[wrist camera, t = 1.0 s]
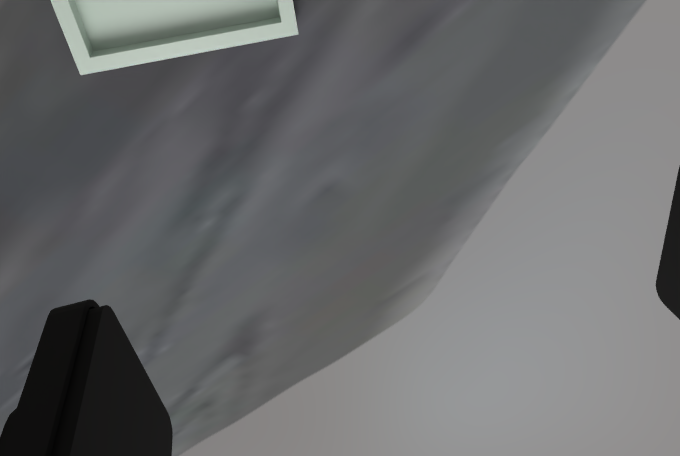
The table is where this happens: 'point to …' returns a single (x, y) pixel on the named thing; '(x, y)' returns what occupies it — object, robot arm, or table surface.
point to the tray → (165, 28)
